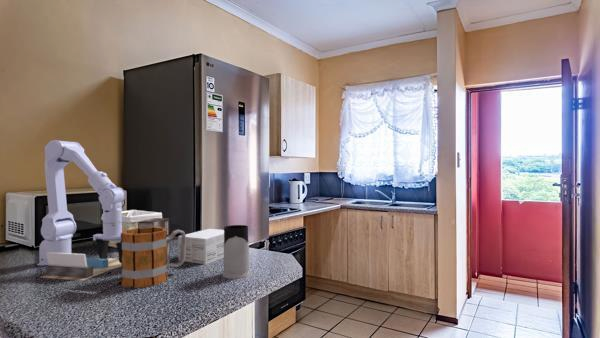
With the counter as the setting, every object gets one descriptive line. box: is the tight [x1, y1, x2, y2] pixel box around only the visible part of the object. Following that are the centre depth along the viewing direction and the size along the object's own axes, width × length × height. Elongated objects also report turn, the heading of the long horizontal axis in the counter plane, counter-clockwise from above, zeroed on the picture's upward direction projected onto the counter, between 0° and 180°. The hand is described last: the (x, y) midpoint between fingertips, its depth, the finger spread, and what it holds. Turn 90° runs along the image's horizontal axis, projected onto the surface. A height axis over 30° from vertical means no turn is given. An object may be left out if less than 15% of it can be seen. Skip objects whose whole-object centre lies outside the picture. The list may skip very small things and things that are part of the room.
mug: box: [120, 227, 186, 289], centre depth 108 cm, size 20×14×15 cm
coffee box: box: [138, 217, 171, 263], centre depth 122 cm, size 9×6×16 cm
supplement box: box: [177, 228, 224, 265], centre depth 133 cm, size 17×13×9 cm
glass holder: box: [222, 224, 252, 280], centre depth 113 cm, size 9×14×15 cm, turn 9°
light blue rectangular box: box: [86, 257, 108, 269], centre depth 119 cm, size 8×2×2 cm, turn 77°
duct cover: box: [46, 252, 88, 268], centre depth 108 cm, size 14×4×1 cm
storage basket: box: [100, 209, 163, 249], centre depth 155 cm, size 24×16×15 cm
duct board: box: [40, 257, 122, 281], centre depth 118 cm, size 16×24×4 cm, turn 167°
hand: (113, 261), depth 122 cm, fingers open, 7 cm apart
